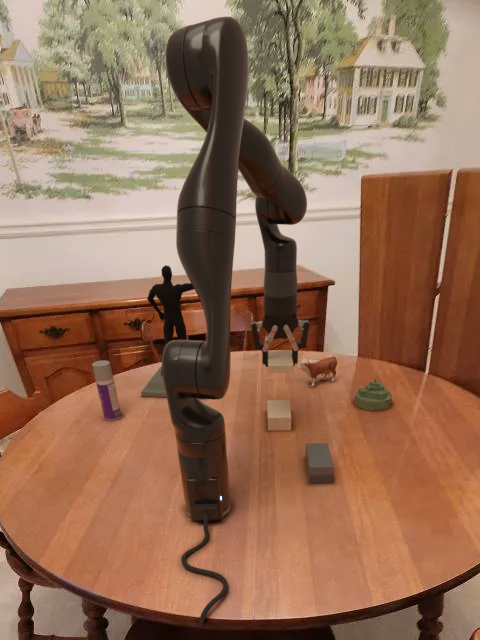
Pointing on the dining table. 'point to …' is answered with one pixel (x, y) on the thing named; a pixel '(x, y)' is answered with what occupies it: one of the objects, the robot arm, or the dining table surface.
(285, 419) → the small cream box
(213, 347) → the robot arm
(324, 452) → the grey stack
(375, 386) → the decorative artifact
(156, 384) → the statue
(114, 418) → the container
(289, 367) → the beige rectangular block
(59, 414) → the dining table surface
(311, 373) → the bull figurine
